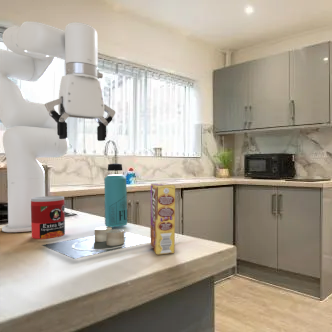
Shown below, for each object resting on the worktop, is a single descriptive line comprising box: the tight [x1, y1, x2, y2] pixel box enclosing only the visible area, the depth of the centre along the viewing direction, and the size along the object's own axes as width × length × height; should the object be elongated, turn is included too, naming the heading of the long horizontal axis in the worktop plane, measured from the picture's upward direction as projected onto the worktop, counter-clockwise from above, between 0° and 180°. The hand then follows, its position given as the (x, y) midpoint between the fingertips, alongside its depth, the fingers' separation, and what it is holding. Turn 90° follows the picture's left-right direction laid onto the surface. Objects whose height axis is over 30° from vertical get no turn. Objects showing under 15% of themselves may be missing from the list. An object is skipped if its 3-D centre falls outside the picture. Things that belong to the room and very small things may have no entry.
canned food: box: [31, 195, 66, 240], centre depth 88 cm, size 8×8×11 cm
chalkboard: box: [41, 231, 150, 260], centre depth 80 cm, size 18×20×1 cm
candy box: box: [149, 182, 176, 255], centre depth 75 cm, size 9×4×15 cm, turn 26°
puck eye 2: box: [106, 228, 125, 246], centre depth 78 cm, size 4×4×3 cm
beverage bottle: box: [103, 163, 129, 228], centre depth 98 cm, size 6×7×20 cm
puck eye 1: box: [94, 226, 113, 242], centre depth 82 cm, size 4×4×3 cm
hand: (83, 139), depth 85 cm, fingers open, 9 cm apart
